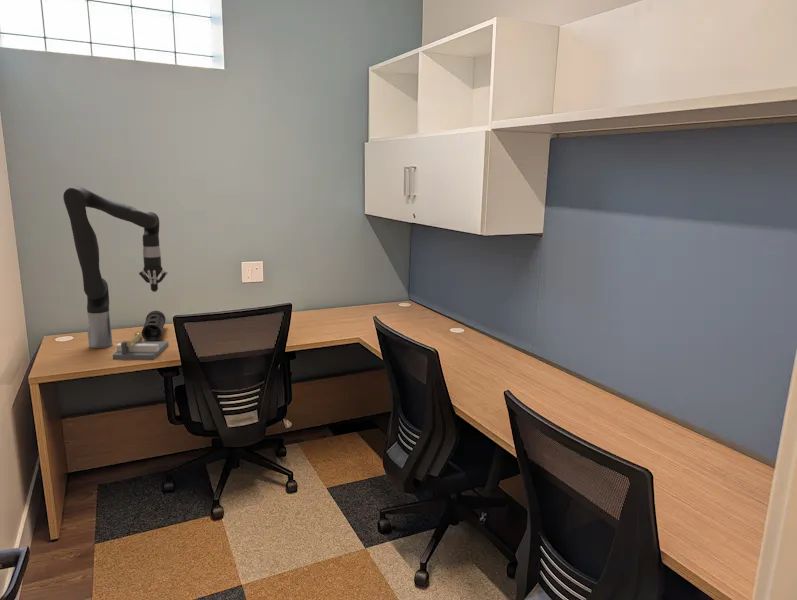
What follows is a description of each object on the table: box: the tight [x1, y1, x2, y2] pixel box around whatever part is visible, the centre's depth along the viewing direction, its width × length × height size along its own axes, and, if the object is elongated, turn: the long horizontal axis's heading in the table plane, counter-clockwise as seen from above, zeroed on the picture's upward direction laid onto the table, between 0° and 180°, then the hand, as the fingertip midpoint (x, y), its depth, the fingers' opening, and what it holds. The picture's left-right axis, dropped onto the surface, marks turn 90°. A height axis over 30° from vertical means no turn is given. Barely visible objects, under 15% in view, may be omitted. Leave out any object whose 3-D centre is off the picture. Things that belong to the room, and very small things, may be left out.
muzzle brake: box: [141, 310, 166, 341], centre depth 288 cm, size 10×28×10 cm, turn 18°
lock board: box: [112, 338, 170, 360], centre depth 264 cm, size 18×20×8 cm
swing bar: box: [125, 331, 143, 346], centre depth 261 cm, size 13×3×3 cm, turn 3°
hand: (154, 291), depth 269 cm, fingers closed
